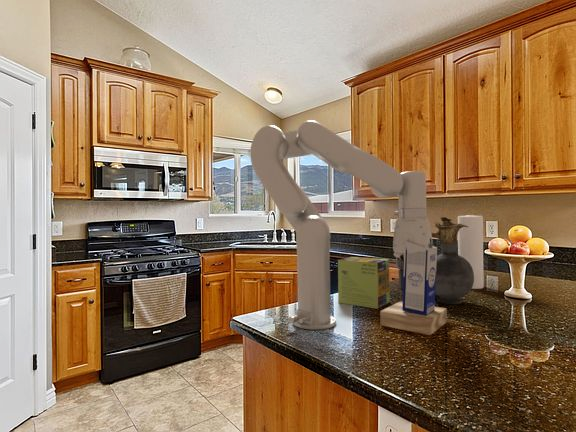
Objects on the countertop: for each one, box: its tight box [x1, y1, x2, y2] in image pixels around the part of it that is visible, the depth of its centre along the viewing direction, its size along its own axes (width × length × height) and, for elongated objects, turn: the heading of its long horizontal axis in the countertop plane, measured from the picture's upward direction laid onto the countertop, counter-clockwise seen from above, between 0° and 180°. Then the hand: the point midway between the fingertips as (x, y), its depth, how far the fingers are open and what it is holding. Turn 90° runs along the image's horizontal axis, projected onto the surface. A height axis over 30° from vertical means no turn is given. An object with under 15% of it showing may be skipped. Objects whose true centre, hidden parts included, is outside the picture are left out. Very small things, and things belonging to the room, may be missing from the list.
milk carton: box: [402, 241, 438, 316], centre depth 103 cm, size 7×7×20 cm
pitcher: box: [431, 216, 474, 305], centre depth 129 cm, size 11×19×30 cm, turn 60°
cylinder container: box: [457, 214, 485, 290], centre depth 153 cm, size 9×9×30 cm
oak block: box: [379, 300, 448, 336], centre depth 105 cm, size 14×14×4 cm
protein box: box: [337, 256, 391, 310], centre depth 130 cm, size 10×15×16 cm
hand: (413, 278), depth 105 cm, fingers closed on milk carton, 1 cm apart
